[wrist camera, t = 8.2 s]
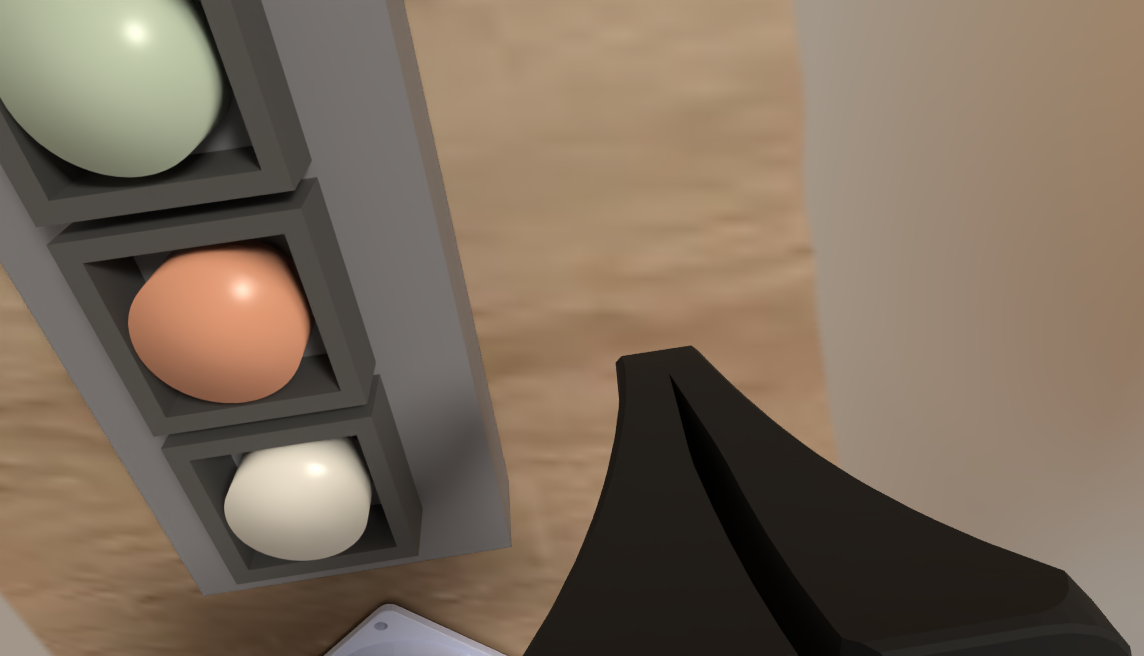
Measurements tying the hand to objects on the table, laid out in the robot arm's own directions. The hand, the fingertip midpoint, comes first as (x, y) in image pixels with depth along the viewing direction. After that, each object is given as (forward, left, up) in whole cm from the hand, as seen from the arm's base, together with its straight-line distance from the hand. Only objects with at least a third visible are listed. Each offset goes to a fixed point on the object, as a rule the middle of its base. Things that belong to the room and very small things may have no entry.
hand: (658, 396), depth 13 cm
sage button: (-3, +10, -6) cm, 12 cm away
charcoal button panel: (-7, +6, -9) cm, 13 cm away
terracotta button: (-7, +6, -6) cm, 11 cm away
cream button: (-10, +2, -6) cm, 12 cm away
